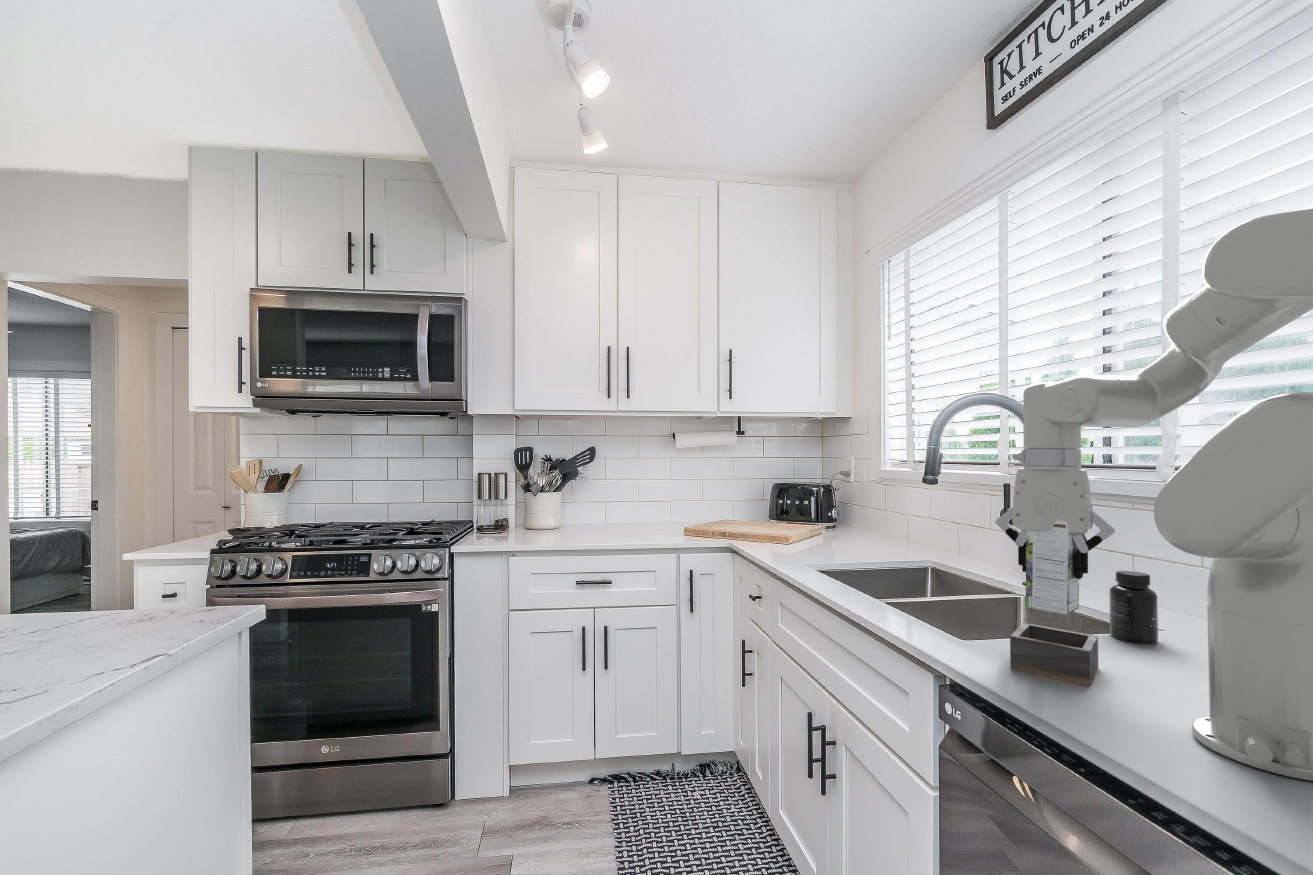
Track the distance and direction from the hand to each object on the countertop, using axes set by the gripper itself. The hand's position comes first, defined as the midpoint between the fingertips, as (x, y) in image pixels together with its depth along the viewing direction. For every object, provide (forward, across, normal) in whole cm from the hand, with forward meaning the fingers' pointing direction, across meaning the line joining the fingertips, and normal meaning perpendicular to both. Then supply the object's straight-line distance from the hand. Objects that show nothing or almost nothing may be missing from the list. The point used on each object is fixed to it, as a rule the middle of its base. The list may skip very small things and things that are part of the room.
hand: (1052, 572), depth 90 cm
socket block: (+15, 0, 0) cm, 15 cm away
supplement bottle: (+15, +8, +28) cm, 33 cm away
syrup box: (+6, 0, 0) cm, 6 cm away
